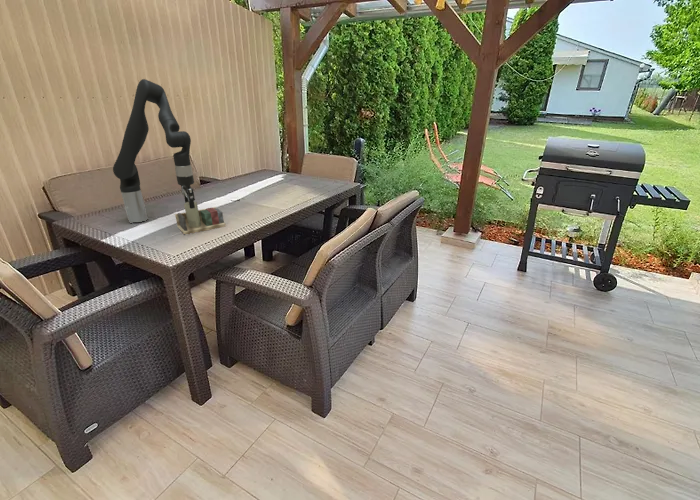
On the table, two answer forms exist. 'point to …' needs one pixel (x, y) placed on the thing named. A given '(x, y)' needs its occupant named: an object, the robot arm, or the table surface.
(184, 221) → the shelf
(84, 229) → the table surface
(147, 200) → the table surface
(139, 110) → the robot arm
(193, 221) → the box
